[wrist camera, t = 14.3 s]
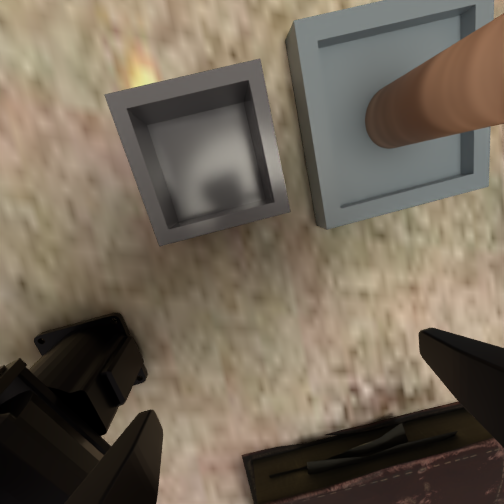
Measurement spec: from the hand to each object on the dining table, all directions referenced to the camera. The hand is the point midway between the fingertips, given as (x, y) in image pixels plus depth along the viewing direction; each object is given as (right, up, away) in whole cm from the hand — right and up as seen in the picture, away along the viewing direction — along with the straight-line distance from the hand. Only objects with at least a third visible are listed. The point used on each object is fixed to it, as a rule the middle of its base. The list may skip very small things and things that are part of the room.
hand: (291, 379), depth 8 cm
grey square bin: (-4, +10, +9) cm, 14 cm away
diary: (+11, -22, +20) cm, 32 cm away
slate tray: (+8, +14, +10) cm, 19 cm away
